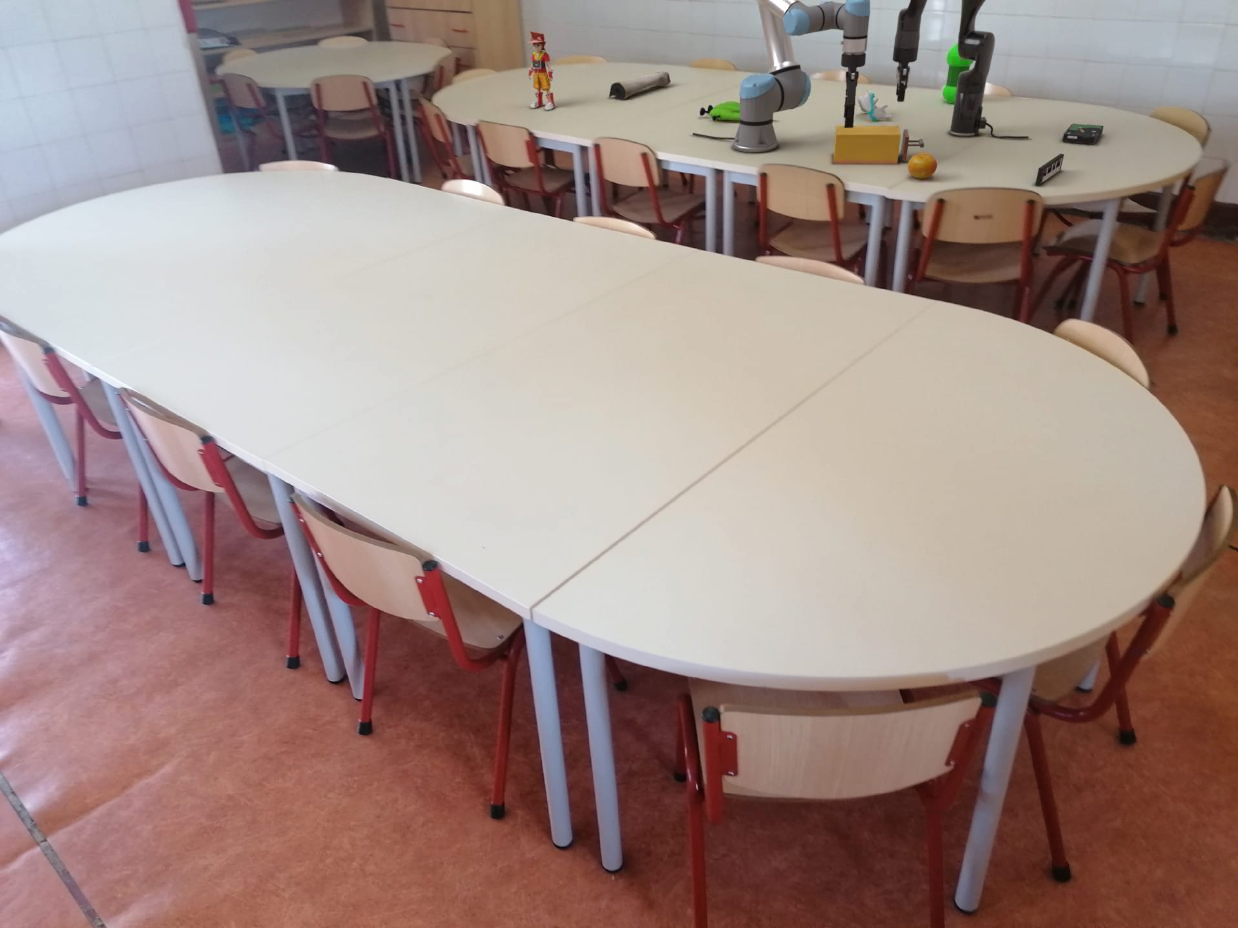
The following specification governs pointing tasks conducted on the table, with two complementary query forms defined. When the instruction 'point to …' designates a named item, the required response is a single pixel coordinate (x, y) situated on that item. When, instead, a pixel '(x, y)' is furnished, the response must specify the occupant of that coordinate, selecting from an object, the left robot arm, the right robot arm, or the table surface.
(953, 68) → the plastic bottle
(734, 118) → the toy
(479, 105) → the table surface
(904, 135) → the drawer
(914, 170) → the fruit
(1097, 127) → the disk drive
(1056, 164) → the midi keyboard
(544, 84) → the toy
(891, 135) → the cabinet
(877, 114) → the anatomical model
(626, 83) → the rolled mat
